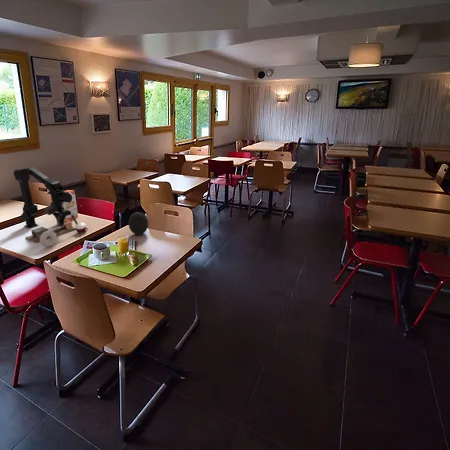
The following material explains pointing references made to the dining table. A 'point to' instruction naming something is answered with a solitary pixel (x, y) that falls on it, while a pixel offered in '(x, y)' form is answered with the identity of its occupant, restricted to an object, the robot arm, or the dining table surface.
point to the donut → (45, 235)
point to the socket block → (68, 224)
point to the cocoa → (79, 226)
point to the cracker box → (71, 206)
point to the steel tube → (59, 225)
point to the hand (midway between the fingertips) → (60, 223)
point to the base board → (37, 232)
